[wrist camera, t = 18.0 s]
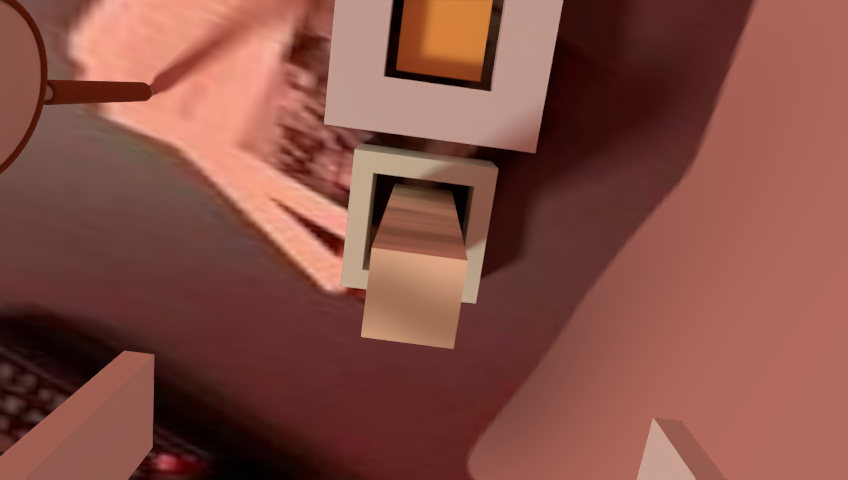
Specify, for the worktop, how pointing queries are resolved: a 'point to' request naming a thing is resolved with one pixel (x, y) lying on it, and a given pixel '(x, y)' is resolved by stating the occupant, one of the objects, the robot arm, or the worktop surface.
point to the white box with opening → (434, 103)
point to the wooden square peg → (416, 269)
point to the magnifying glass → (40, 83)
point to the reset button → (444, 38)
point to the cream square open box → (423, 167)
